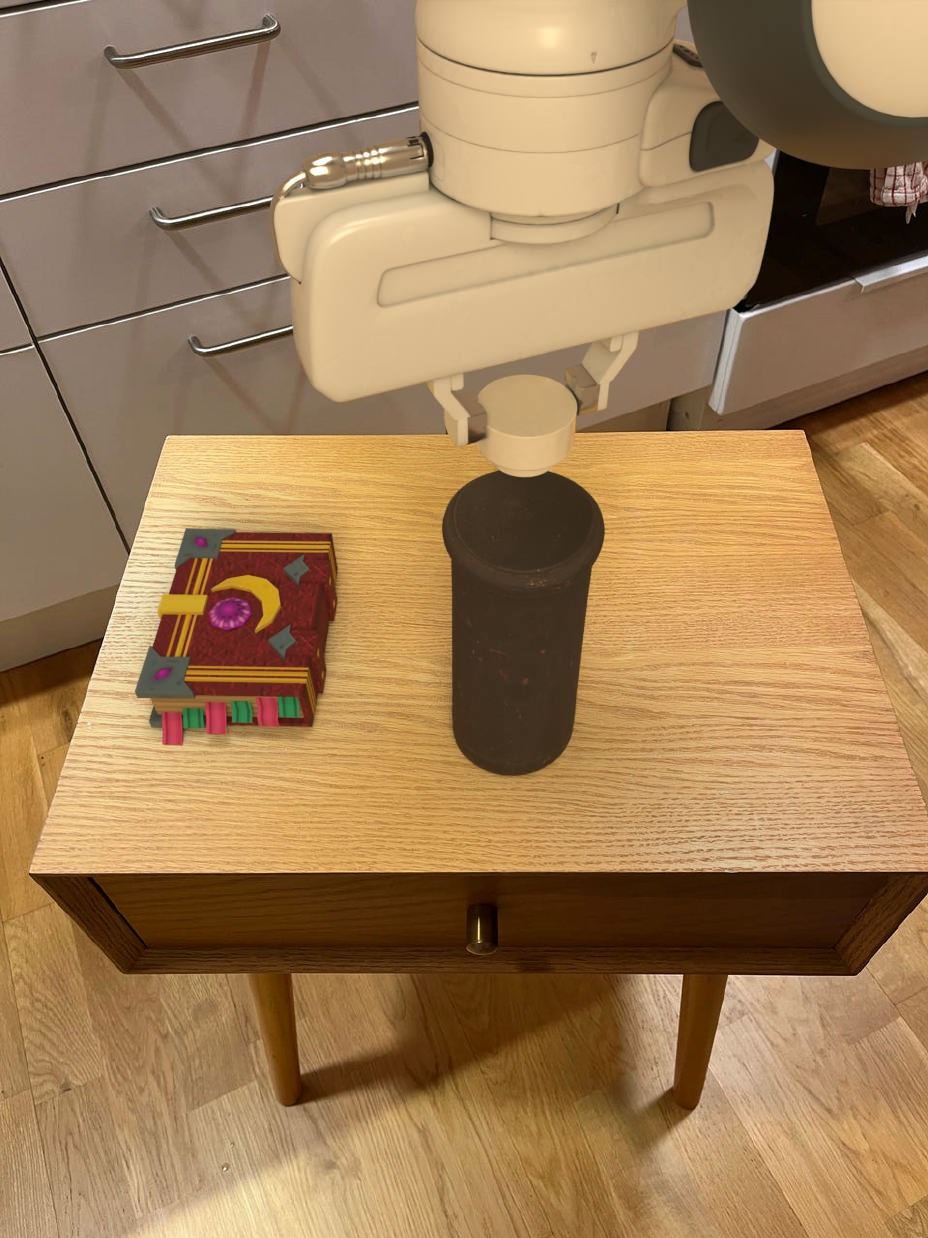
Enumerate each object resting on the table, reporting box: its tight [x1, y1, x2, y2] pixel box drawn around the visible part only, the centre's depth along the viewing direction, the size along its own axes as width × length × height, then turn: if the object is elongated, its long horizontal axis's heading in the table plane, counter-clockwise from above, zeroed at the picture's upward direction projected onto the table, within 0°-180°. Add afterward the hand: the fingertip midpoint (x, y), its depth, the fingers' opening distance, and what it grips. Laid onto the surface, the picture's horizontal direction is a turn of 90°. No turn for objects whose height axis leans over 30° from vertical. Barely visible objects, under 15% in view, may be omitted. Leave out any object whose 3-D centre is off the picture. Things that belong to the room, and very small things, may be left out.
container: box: [441, 469, 606, 777], centre depth 57 cm, size 9×9×20 cm
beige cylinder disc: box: [475, 374, 578, 477], centre depth 46 cm, size 5×5×3 cm
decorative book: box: [134, 527, 339, 746], centre depth 68 cm, size 11×16×5 cm
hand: (526, 420), depth 45 cm, fingers closed on beige cylinder disc, 5 cm apart
